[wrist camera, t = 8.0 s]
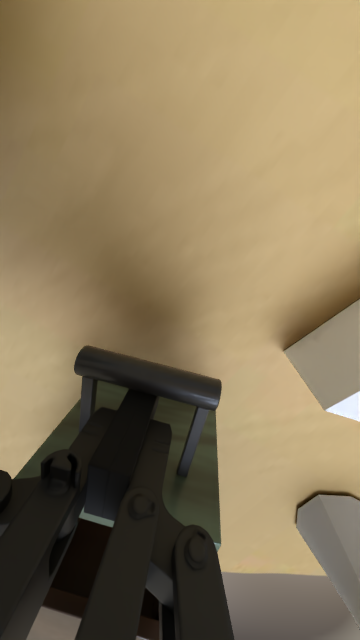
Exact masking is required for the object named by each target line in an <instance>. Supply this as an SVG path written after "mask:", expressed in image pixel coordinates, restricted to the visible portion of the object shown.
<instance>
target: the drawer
mask: <svg viewBox="0 0 360 640" xmlns="http://www.w3.org/2000/svg"><path fill="white" fill-rule="evenodd" d="M74 371H75V373H76V374H77V375H80V376H83V377H82V390H81V399H80V400H79V401H78V402H77V403H76V405H75V406H74V407H73V408H72V409H71V411H70V412H69V413H68V414H67V415H66V417H65V418H64V419H63V420H62V421H61V423H60V424H59V425H58V426H57V427H56V429H55V430H54V431H53V432H52V433H51V435H50V436H49V437H48V438H47V439H46V441H45V442H44V443H43V444H42V445H41V447H40V448H39V449H38V450H37V451H36V453H35V454H34V455H33V456H32V457H31V459H30V460H29V461H28V462H27V463H26V465H25V466H24V467H23V468H22V469H21V471H20V472H19V473H18V474H17V475H16V477H15V478H14V479H20V478H32V477H37V476H40V475H41V462H42V461H43V460H44V459H45V458H46V457H47V456H48V455H50V454H51V453H53V452H55V451H58V450H62V449H69V448H70V446H71V445H72V443H73V442H74V440H75V439H76V437H77V436H78V434H79V433H80V431H81V430H82V428H83V427H84V425H85V424H86V423H87V421H88V419H89V418H90V416H91V415H92V413H94V412H95V411H96V410H98V409H99V408H100V407H106V408H110V409H113V410H118V408H119V406H120V404H121V403H122V401H123V399H124V397H125V395H126V393H127V392H128V390H129V389H133V390H137V391H140V392H144V393H148V394H151V395H155V396H159V397H160V398H159V402H158V406H157V409H156V412H155V415H154V419H153V420H157V421H161V422H164V423H168V424H170V426H171V430H172V439H171V444H170V450H169V455H168V461H167V466H166V472H165V477H164V483H163V488H162V497H163V502H164V505H165V507H166V509H167V510H168V512H169V513H170V514H171V515H172V516H173V517H174V518H175V519H176V520H178V521H179V522H180V523H182V524H183V525H184V526H189V525H192V524H193V525H198V526H201V527H202V528H203V529H205V530H206V531H207V532H208V533H209V535H210V536H211V538H212V539H213V541H214V544H215V547H216V550H217V552H218V550H219V548H220V546H221V529H220V505H219V482H218V458H217V434H216V409H217V407H218V404H219V401H220V396H221V388H222V385H221V380H219V379H215V378H211V377H207V376H203V375H200V374H196V373H192V372H188V371H184V370H180V369H176V368H173V367H169V366H165V365H161V364H157V363H153V362H150V361H146V360H142V359H138V358H134V357H130V356H127V355H123V354H119V353H115V352H111V351H107V350H104V349H100V348H96V347H92V346H84V347H83V348H82V349H81V350H80V352H79V353H78V355H77V358H76V360H75V365H74ZM113 524H114V521H111V520H108V519H105V518H101V517H98V516H94V515H91V514H87V513H84V507H83V510H82V512H81V514H80V516H79V518H78V520H77V527H76V530H75V533H74V536H73V538H72V540H71V542H70V544H69V547H68V549H67V551H66V553H65V555H64V558H63V560H62V562H61V564H60V566H59V568H58V571H57V573H56V575H55V577H54V579H53V582H52V584H51V587H54V588H58V589H61V590H64V591H67V592H70V593H74V594H77V595H80V596H83V597H86V598H89V595H90V592H91V589H92V586H93V584H94V581H95V578H96V575H97V572H98V569H99V566H100V563H101V560H102V557H103V554H104V551H105V548H106V545H107V542H108V539H109V536H110V533H111V530H112V527H113ZM140 615H144V616H147V617H150V618H153V619H156V620H159V600H158V599H157V598H156V597H155V596H154V595H153V594H152V593H151V592H150V591H149V590H148V589H147V588H146V587H145V592H144V597H143V603H142V608H141V614H140Z"/></svg>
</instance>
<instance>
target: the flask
mask: <svg viewBox="0 0 360 640" xmlns="http://www.w3.org/2000/svg"><path fill="white" fill-rule="evenodd" d="M296 528H297V529H298V531H299V533H300V534H301V536H302V537H303V539H304V540H305V542H306V543H307V545H308V547H309V548H310V550H311V551H312V553H313V554H314V556H315V557H316V559H317V560H318V562H319V563H320V565H321V566H322V568H323V569H324V571H325V573H326V574H327V576H328V577H329V579H330V581H331V582H332V584H333V585H334V587H335V588H336V590H337V592H338V593H339V595H340V596H341V598H342V600H343V601H344V603H345V605H346V606H347V608H348V609H349V611H350V613H351V614H352V616H353V618H354V620H355V622H356V623H357V626H358V627H359V630H360V501H358V500H357V499H355V498H353V497H351V496H333V495H317V496H316V497H314V498H313V499H312V500H310V501H309V502H307V503H306V504H305V505H303V506H302V507H300V508H299V509H298V514H297V525H296Z"/></svg>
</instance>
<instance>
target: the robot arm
mask: <svg viewBox="0 0 360 640" xmlns="http://www.w3.org/2000/svg"><path fill="white" fill-rule="evenodd" d="M159 398H160V397H159V396H155V395H151V394H148V393H144V392H140V391H137V390H133V389H129V390H128V392H127V393H126V395H125V397H124V399H123V401H122V403H121V404H120V406H119V408H118V410H113V409H110V408H106V407H100V408H99V409H98V410H96V411H95V412H94V413H92V415H91V416H90V418H89V419H88V421H87V423H86V424H85V425H84V427H83V428H82V430H81V431H80V433H79V434H78V436H77V437H76V439H75V440H74V442H73V443H72V445H71V446H70V448H69V449H62V450H58V451H55V452H53V453H51V454H50V455H48V456H47V457H46V458H45V459H44V460H43V461H42V462H41V475H40V476H37V477H32V478H20V479H11V476H10V475H9V474H8V472H5V471H2V470H0V640H26V639H27V636H28V634H29V632H30V630H31V628H32V625H33V623H34V621H35V619H36V617H37V615H38V612H39V610H40V608H41V606H42V604H43V601H44V599H45V597H46V595H47V593H48V590H49V588H50V586H51V584H52V582H53V579H54V577H55V575H56V573H57V571H58V568H59V566H60V564H61V562H62V560H63V558H64V555H65V553H66V551H67V549H68V547H69V544H70V542H71V540H72V538H73V536H74V533H75V530H76V527H77V520H78V518H79V516H80V514H81V512H82V510H83V507H84V513H87V514H91V515H94V516H98V517H101V518H105V519H108V520H111V521H114V524H113V527H112V530H111V533H110V536H109V539H108V542H107V545H106V548H105V551H104V554H103V557H102V560H101V563H100V566H99V569H98V572H97V575H96V578H95V581H94V584H93V586H92V589H91V592H90V595H89V598H88V601H87V604H86V607H85V610H84V613H83V616H82V619H81V622H80V625H79V628H78V631H77V634H76V637H75V640H136V636H137V630H138V625H139V619H140V614H141V608H142V603H143V597H144V592H145V587H146V588H147V589H148V590H149V591H150V592H151V593H152V594H153V595H154V596H155V597H156V598H157V599H158V600H159V638H160V640H234V636H233V630H232V625H231V621H230V615H229V610H228V606H227V600H226V595H225V590H224V585H223V580H222V574H221V569H220V564H219V559H218V554H217V550H216V547H215V544H214V541H213V539H212V538H211V536H210V535H209V533H208V532H207V531H206V530H205V529H203V528H202V527H201V526H198V525H193V524H192V525H189V526H184V525H183V524H182V523H180V522H179V521H178V520H176V519H175V518H174V517H173V516H172V515H171V514H170V513H169V512H168V510H167V509H166V507H165V505H164V502H163V497H162V488H163V483H164V477H165V472H166V466H167V461H168V455H169V450H170V444H171V439H172V430H171V426H170V424H168V423H164V422H161V421H157V420H153V419H154V415H155V412H156V409H157V406H158V402H159Z"/></svg>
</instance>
